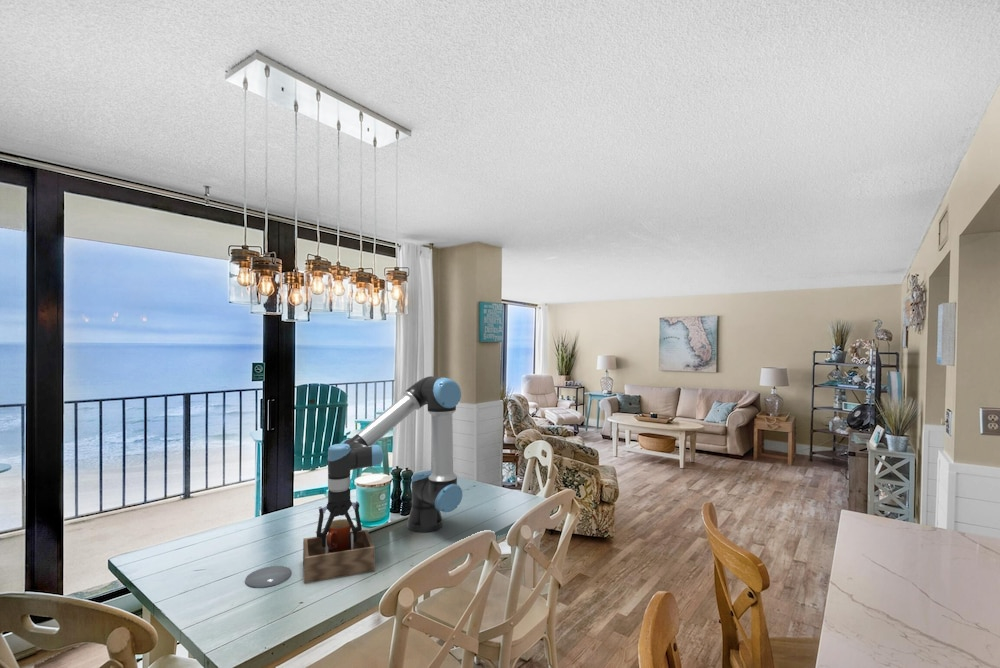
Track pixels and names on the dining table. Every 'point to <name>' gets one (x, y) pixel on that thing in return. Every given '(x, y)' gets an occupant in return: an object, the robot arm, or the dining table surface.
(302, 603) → the dining table surface
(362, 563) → the box
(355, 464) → the robot arm
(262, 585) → the coaster
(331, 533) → the mug
